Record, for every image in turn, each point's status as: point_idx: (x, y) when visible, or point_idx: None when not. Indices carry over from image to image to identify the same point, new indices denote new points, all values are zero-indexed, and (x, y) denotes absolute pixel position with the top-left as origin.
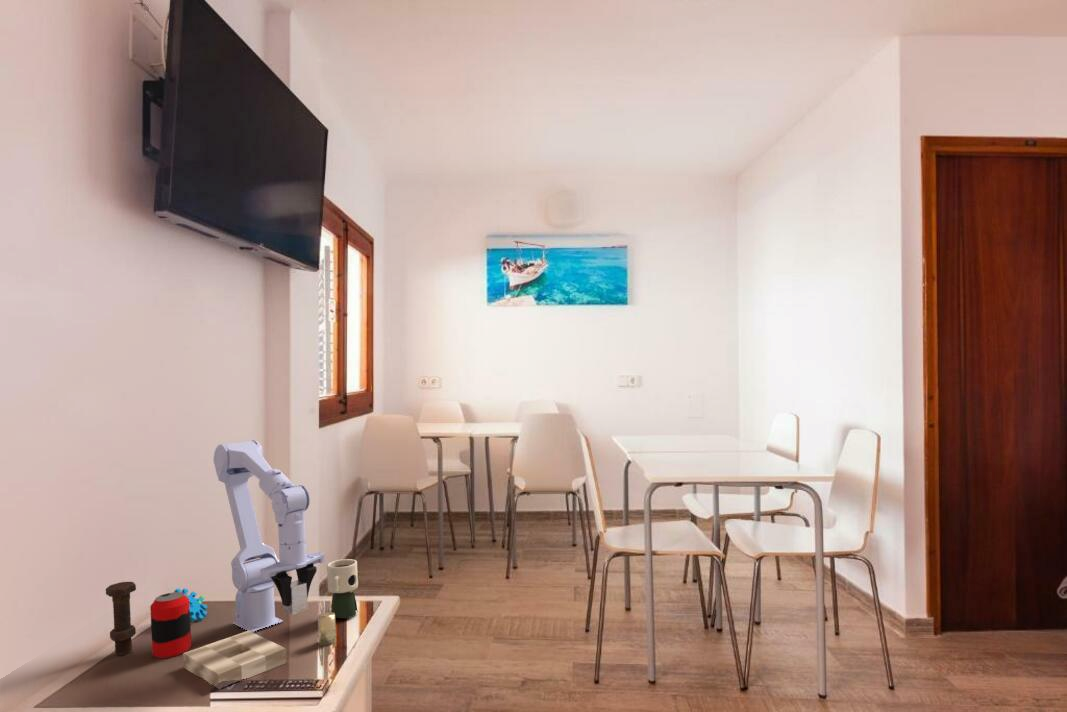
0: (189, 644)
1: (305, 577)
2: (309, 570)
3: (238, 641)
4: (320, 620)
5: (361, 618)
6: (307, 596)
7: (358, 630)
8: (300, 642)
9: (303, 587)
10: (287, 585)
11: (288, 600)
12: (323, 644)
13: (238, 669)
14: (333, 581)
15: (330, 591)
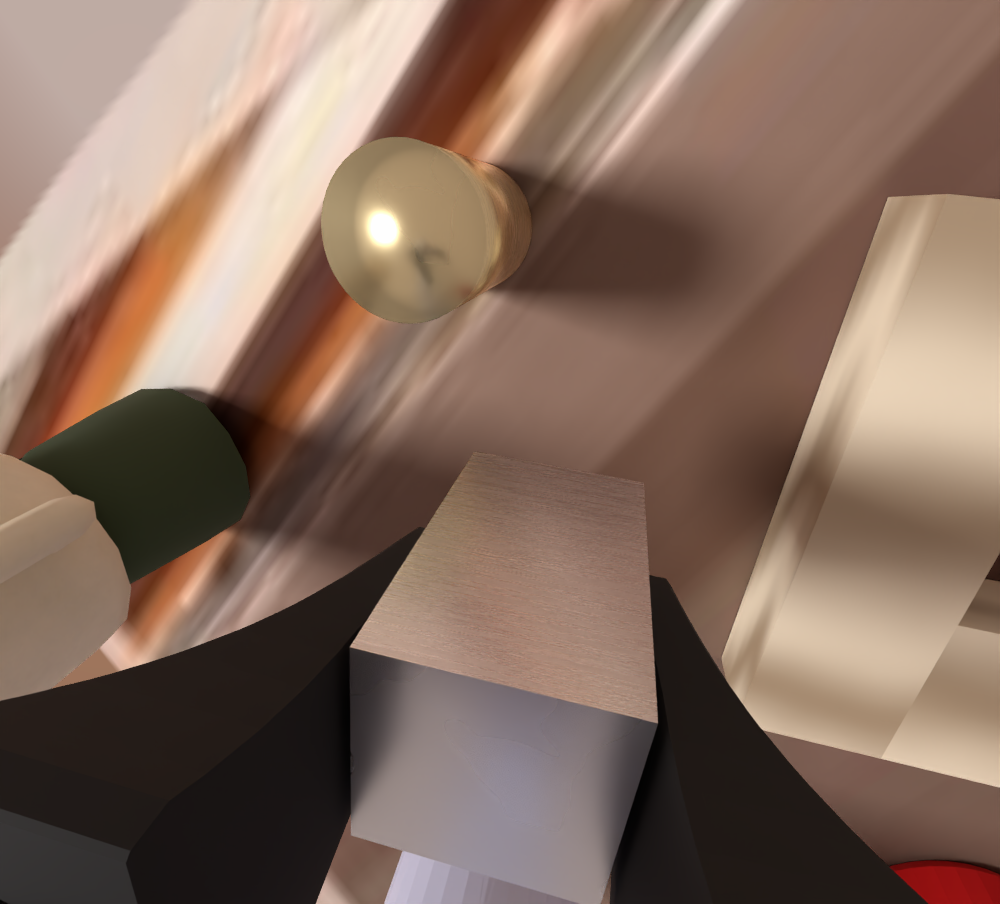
0: (913, 889)
1: (289, 754)
2: (105, 832)
3: (926, 663)
4: (491, 227)
5: (137, 339)
6: (405, 538)
7: (237, 190)
8: (567, 403)
9: (429, 617)
10: (768, 808)
11: (673, 610)
12: (527, 203)
13: None
14: (21, 603)
15: (125, 584)
